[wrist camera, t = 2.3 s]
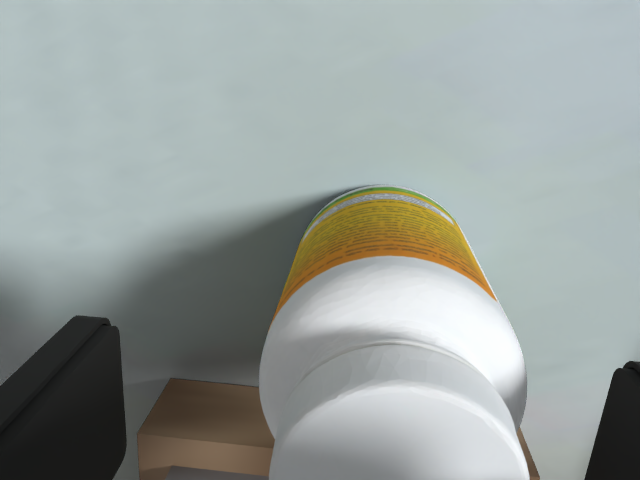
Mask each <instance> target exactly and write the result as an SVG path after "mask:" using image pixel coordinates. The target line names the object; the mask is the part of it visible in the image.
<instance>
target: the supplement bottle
mask: <svg viewBox="0 0 640 480" xmlns="http://www.w3.org/2000/svg"><path fill="white" fill-rule="evenodd" d="M259 394H260V401H261V405H262V409H263V413H264V416H265V418H266V421H267V424H268V426H269V429H270V431H271V433H272V435H273V437H274V439H275V443H274V448H273V454H272V458H271V464H270V470H269V480H530V477H529V472H528V467H527V463H526V460H525V457H524V454H523V451H522V448H521V445H520V443H519V440H518V437H517V434H516V433H517V431H518V429H519V426H520V424H521V421H522V418H523V414H524V410H525V405H526V397H527V376H526V368H525V363H524V359H523V354H522V351H521V348H520V345H519V342H518V339H517V337H516V335H515V332H514V330H513V328H512V326H511V323H510V322H509V320H508V318H507V316H506V314H505V312H504V310H503V308H502V307H501V305H500V303H499V301H498V299H497V297H496V295H495V293H494V291H493V289H492V287H491V285H490V283H489V282H488V280H487V278H486V276H485V274H484V272H483V270H482V268H481V266H480V264H479V262H478V260H477V258H476V256H475V254H474V252H473V250H472V248H471V246H470V244H469V242H468V240H467V239H466V237H465V235H464V233H463V231H462V230H461V228H460V226H459V225H458V223H457V222H456V220H455V219H454V218H453V217H452V215H451V214H450V213H449V212H448V211H447V210H446V209H445V208H444V207H442V206H441V205H440V204H439V203H437V202H436V201H435V200H433V199H431V198H430V197H428V196H426V195H424V194H422V193H420V192H418V191H415V190H412V189H409V188H406V187H401V186H395V185H373V186H366V187H362V188H358V189H355V190H352V191H350V192H347V193H345V194H343V195H341V196H339V197H337V198H336V199H334V200H333V201H331V202H330V203H328V204H327V205H326V206H325V207H324V208H323V209H321V210H320V211H319V213H318V214H317V215H316V216H315V217H314V218H313V220H312V221H311V222H310V224H309V225H308V227H307V229H306V231H305V233H304V235H303V237H302V239H301V241H300V244H299V247H298V249H297V252H296V255H295V258H294V261H293V264H292V267H291V270H290V273H289V275H288V278H287V281H286V283H285V286H284V289H283V292H282V295H281V298H280V301H279V303H278V306H277V309H276V311H275V314H274V317H273V319H272V322H271V324H270V327H269V330H268V333H267V337H266V340H265V345H264V348H263V352H262V357H261V362H260V369H259Z"/></svg>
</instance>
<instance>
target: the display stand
mask: <svg viewBox="0 0 640 480" xmlns="http://www.w3.org/2000/svg"><path fill="white" fill-rule="evenodd" d="M516 434H517V437H518V440H519V443H520V445H521V448H522V451H523V454H524V457H525V460H526V463H527V467H528V472H529V477H530V480H539V479H540V476H539V474H538V471H537V469H536V466H535V464H534V461H533V459H532V456H531V454H530V451H529V449H528V446H527V444H526V442H525V439H524V437H523V434H522V432H521V429H520V427H519V429H518V431H517V433H516ZM137 443H138V460H139V477H140V480H269V470H270V464H271V458H272V454H273V448H274V443H275V439H274V437H273V435H272V433H271V431H270V429H269V426H268V424H267V421H266V418H265V416H264V413H263V409H262V405H261V401H260V394H259V387H251V386H241V385H231V384H221V383H212V382H202V381H192V380H182V379H172V378H171V379H170V380H169V382H168V384H167V385H166V387H165V389H164V390H163V392H162V393H161V395H160V397H159V398H158V400H157V402H156V403H155V405H154V407H153V408H152V410H151V411H150V413H149V415H148V416H147V418H146V420H145V421H144V423H143V425H142V426H141V428H140V430H139V431H138V433H137Z"/></svg>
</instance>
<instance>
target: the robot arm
mask: <svg viewBox="0 0 640 480" xmlns="http://www.w3.org/2000/svg"><path fill="white" fill-rule="evenodd" d="M125 451H126V426H125V411H124V396H123V381H122V366H121V351H120V336H119V330H118V328H117V327H116V326H111V324H110V322H109V320H108V319H107V318H101V317H89V316H75V317H73V318H72V319H71V320H70V321H69V322H68V323H67V324H66V325H65V326H63V327H62V328H61V329H60V330H59V331H58V332H57V333H56V334H55V335H54V336H53V337H52V338H51V339H50V340H49V341H48V342H47V343H46V344H44V345H43V346H42V347H41V348H40V349H39V350H38V351H37V352H36V353H35V354H34V355H33V356H32V357H31V358H30V359H29V360H28V361H26V362H25V363H24V364H23V365H22V366H21V367H20V368H19V369H18V370H17V371H16V372H15V373H14V374H13V375H12V376H11V377H10V378H8V379H7V380H6V381H5V382H4V383H3V384H2V385H1V386H0V480H112V479H113V478H114V476H115V474H116V472H117V470H118V469H119V467H120V465H121V463H122V461H123V459H124V456H125ZM585 480H640V362H634V361H629V362H627V363H626V364H625V365H624V366H623V368H618V369H616V371H615V372H614V374H613V377H612V380H611V384H610V388H609V391H608V395H607V399H606V402H605V406H604V410H603V413H602V417H601V421H600V425H599V428H598V432H597V436H596V439H595V443H594V447H593V450H592V454H591V458H590V461H589V465H588V469H587V472H586V476H585Z"/></svg>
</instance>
